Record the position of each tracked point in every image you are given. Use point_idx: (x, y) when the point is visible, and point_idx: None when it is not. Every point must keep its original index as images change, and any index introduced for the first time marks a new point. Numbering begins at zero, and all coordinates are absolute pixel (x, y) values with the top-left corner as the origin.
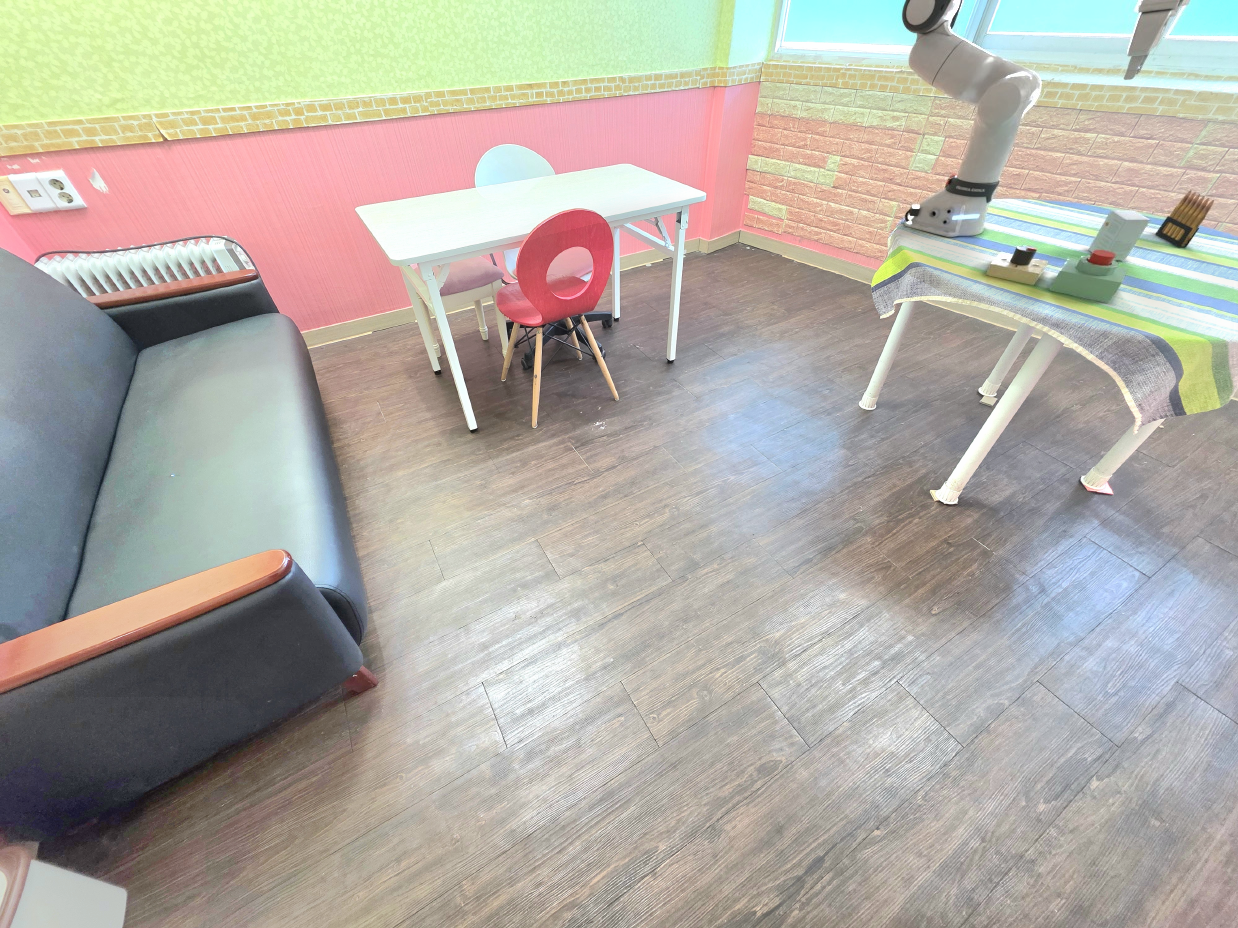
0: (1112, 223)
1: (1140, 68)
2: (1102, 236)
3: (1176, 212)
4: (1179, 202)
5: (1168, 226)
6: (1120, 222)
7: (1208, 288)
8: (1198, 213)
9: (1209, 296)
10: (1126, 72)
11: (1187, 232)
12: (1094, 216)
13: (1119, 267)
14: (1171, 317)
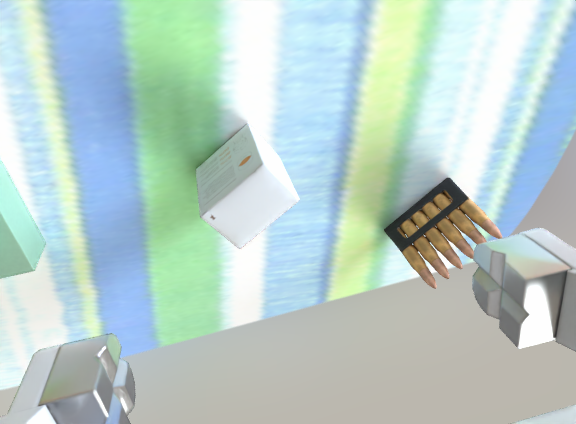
0: (230, 177)
1: (500, 326)
2: (234, 155)
3: (467, 213)
4: (484, 218)
5: (444, 202)
6: (210, 201)
7: (194, 318)
8: (427, 260)
9: (157, 329)
10: (21, 397)
11: (399, 243)
12: (532, 35)
13: (24, 259)
14: (4, 333)
